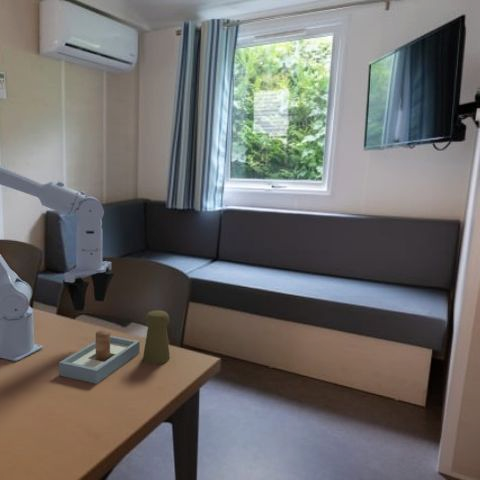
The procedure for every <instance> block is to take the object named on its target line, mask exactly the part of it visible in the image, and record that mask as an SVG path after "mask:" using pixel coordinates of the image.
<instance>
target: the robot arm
mask: <svg viewBox="0 0 480 480" xmlns="http://www.w3.org/2000/svg"><path fill="white" fill-rule="evenodd" d="M0 185H2V186H4V187H6V188H10V189H12V190H16V191H18V192H22V193H24V194H26V195H29V196H33V197H36V198H37V199H39V201H40V203H41V205H42V206H43V207H45V208H49V209H50V210H54V211H56V212H59V213H62V214H65V215H67V216H70V217H72V216H76V217H77V218H76V219H77V228H76V230H75V232H76V233H75V237H76V239H75V241H76V242H75V243H76V244H75V245H76V247H75V249H76V252H75V253H76V256H75V257H76V258H75V259H76V260H75V261H76V265H75V267H73V268H72V269H71V270H68V271H67V272H64V275H63V276H64V279H63V281H62V284H63V286H64V287H65V288H66V290H67V292H68V294H69V296H70V300H71V303H72V305H73V309H74V311H75V310H76V311H81V312H82V311H84V309H85V305H86V304H85V303H86V293H87V290H88V287H89V285H90V282H89V281H84V280H83V279H84V278H87V277H90V278H91V280H92V284H93V285H92V286H93V295H94V300H95V301H96V302H104V301H105V297H106V294H107V291H108V288H109V285H110V282H111V280H112V278H113V277H114V275H115V274H114V273H115V272H114V271H112V262H111V261H108V260H105V261H104V260H103V234H104V233H103V228H102V227H103V221H102V219H103V217H104V215H105V210H104V207H103V205H102V203H101V202H100V201H99V199H97V198H96V197H94V196H93V195H91V194H89V195H88V194H86V192H85V191H83V190H81V191H77V190H76V189H72V188H70V187H67V186H65V183H64V182H62V181H57V182H55V181H50V182H47V183H44V184H43V183H41V182H39V181H36V180H34V179H31V178H30V177H28V176H26V175H25V176H24V175H22V174H20V173H17V172H16V171H13V170H10V169H8V168H6V167H3V166H1V165H0ZM32 297H33V289H32V286H30V284H29V283H28V282H26V281H24V280H22V279H21V278H20V276H18V274H17V273H16V272H15V271H14V270H12V269H11V268H10V266H9V265H8V263H7V262H6V260H5V258H3V256H2V254H1V253H0V359H4V360H8V361H13V362H17V361H19V360H22V359H25V358H26V357H29V355H32V354H34V353H36V352H37V351H40V350H42V349H43V348H44V345H41V344H37V343H35V337H34V336H35V335H34V334H35V332H34V331H35V330H34V329H35V327H34V309H33V308H32V307H31V306H30V300H31V298H32Z"/></svg>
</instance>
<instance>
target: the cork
mask: <svg viewBox="0 0 480 480" xmlns="http://www.w3.org/2000/svg"><path fill="white" fill-rule="evenodd" d="M169 323H170V316H169V314H168V313H167V311H164V310H161V309H160V310H159V309H158V310H157V309H156V310H152V311H149V312H148V313H147V314H146V316H145V324H146V326H147V332H146V337H145V342H144V343H145V344H144V350H143V354H142V355H143V357H142V360H143V361H144V362H145V363H147V364H150V365H161V364H165V363H167V362H169V361H170V359H171V356H170V346H169V339H168V338H169V337H168V328H167V327H168V325H169Z"/></svg>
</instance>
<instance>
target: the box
mask: <svg viewBox="0 0 480 480" xmlns="http://www.w3.org/2000/svg"><path fill="white" fill-rule="evenodd" d="M140 347H141V346H140V340H135V339H130V338H124V337H119V336H114V335H110V359H108V360H107V361H105V362H102V361H98V360H96V340H95V341H94V342H91V343H90V344H88V345H86V346H85V347H83V348H81V349H79V350H78V351H76V352H74V353H72V354H71V355H69V356H67V357H65V358H64V359H63V360H61V361H59V362H58V375H59V376H61V377H64V378H65V377H66V378H70V379H73V380H79V381H83V382H86V383H87V382H88V383H90V384H95V385H97V384H99V383H100V382H102V381H103V380H104V379H105V378H107V377H108V376H110V375H111V374H112V373H113V372H115V371H116V370H117V369H119V368H120V367H122V366H123V365H125V364H126V363H127V362H129V361H130V360H132V359H133V358H135V357H136V356H137V355H138V354H140V353H141V351H140V349H141V348H140Z"/></svg>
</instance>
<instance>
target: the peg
mask: <svg viewBox="0 0 480 480" xmlns="http://www.w3.org/2000/svg"><path fill="white" fill-rule="evenodd" d="M110 336H111V331H109V330H104V329H103V330H99V331H96V332H95V341H96V360H98V361H102V362H105V361H107V360H108V359H110Z"/></svg>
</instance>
